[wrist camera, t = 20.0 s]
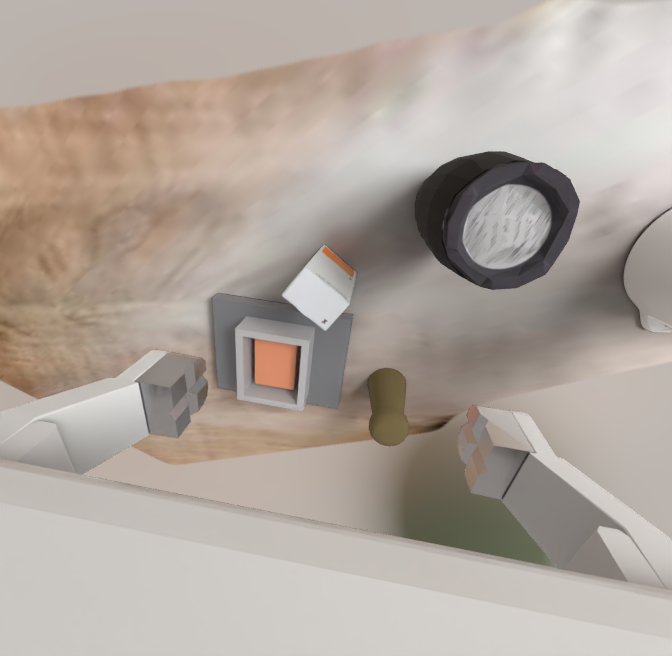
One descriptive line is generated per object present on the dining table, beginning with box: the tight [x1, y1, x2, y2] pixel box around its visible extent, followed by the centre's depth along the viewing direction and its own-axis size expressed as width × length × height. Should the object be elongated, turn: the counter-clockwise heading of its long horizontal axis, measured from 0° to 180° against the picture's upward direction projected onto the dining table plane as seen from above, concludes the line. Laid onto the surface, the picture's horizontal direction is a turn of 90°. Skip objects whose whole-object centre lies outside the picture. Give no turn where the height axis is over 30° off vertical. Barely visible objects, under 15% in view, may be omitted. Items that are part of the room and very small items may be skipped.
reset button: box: [255, 339, 300, 390], centre depth 46 cm, size 6×8×2 cm
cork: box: [368, 368, 409, 446], centre depth 44 cm, size 6×6×11 cm
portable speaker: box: [415, 152, 580, 290], centre depth 28 cm, size 9×9×20 cm
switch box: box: [212, 293, 353, 411], centre depth 46 cm, size 20×16×6 cm
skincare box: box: [282, 245, 357, 331], centre depth 37 cm, size 6×4×12 cm
